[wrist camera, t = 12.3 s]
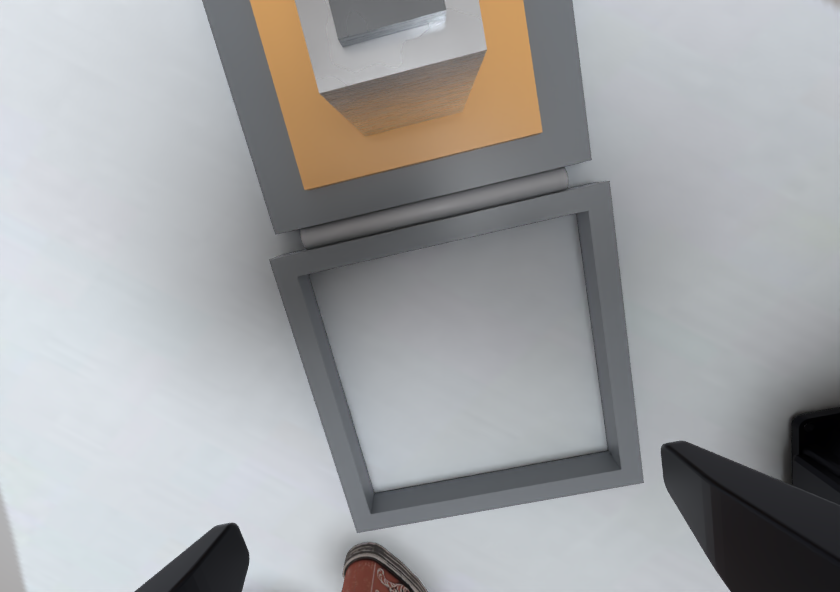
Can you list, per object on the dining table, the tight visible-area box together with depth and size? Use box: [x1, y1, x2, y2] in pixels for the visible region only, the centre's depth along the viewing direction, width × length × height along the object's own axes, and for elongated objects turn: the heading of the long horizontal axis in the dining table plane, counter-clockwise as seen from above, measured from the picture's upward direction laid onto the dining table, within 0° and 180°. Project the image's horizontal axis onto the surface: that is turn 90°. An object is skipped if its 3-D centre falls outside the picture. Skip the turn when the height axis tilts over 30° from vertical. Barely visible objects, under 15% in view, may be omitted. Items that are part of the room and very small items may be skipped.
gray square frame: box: [269, 181, 644, 533], centre depth 20 cm, size 15×15×2 cm
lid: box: [202, 0, 592, 250], centre depth 16 cm, size 14×13×2 cm
